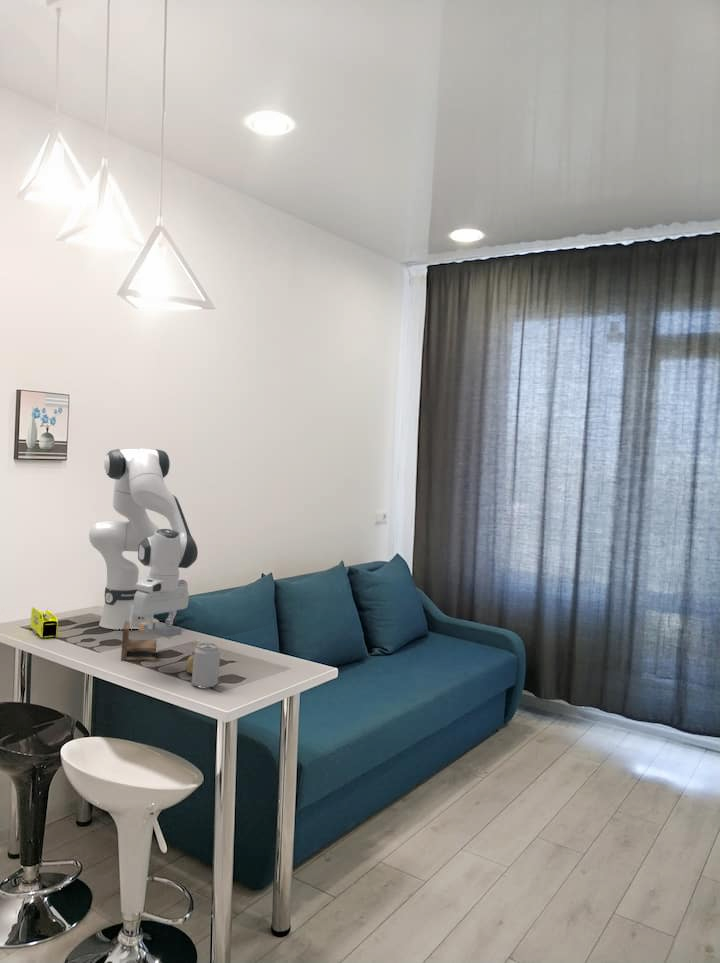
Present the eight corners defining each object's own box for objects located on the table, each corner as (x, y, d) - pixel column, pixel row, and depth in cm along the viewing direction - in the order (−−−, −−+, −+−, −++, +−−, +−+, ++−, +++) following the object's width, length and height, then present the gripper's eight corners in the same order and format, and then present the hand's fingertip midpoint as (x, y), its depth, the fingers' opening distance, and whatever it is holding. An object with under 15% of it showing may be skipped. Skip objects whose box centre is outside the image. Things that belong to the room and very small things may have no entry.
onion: (210, 670, 234) (211, 647, 233) (212, 677, 226) (214, 654, 226) (183, 670, 231) (185, 647, 231) (185, 678, 224) (187, 654, 224)
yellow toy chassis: (28, 629, 265) (30, 605, 264) (45, 628, 268) (47, 604, 268) (39, 640, 252) (41, 615, 251) (57, 638, 255) (59, 614, 255)
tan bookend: (155, 651, 249) (158, 622, 248) (155, 660, 239) (157, 629, 238) (122, 651, 246) (125, 621, 246) (120, 660, 236) (123, 628, 236)
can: (191, 689, 214) (194, 647, 213) (191, 681, 221) (195, 641, 221) (217, 689, 215) (221, 648, 215) (217, 681, 223) (220, 641, 222)
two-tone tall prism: (181, 634, 231) (181, 627, 231) (166, 637, 226) (167, 631, 226) (153, 626, 237) (153, 620, 237) (138, 629, 232) (139, 623, 232)
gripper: (180, 577, 241) (176, 619, 242) (131, 584, 224) (127, 629, 224) (194, 580, 238) (191, 623, 239) (146, 587, 221) (142, 634, 221)
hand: (160, 626), depth 231 cm, fingers closed on two-tone tall prism, 6 cm apart
